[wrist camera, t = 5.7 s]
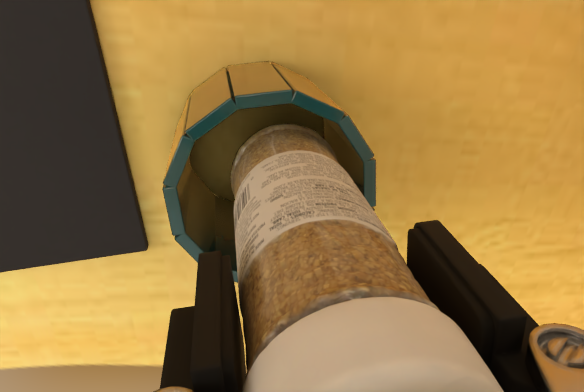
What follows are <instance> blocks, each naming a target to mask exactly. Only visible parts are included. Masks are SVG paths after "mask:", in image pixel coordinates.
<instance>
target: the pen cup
mask: <svg viewBox="0 0 584 392" xmlns="http://www.w3.org/2000/svg"><path fill="white" fill-rule="evenodd" d="M291 103H292V104H294V105H296V106H298V107H301V108H303V109H305V110H307V111H310V112H312V113H314V114H316V115H319V116H321V117H323V125H324V139H325V140H326V141H327V142H328V144H329V145H330V146H331V148H332V150H333V151H334V153H335V155H336V158H337V161H338V163H339V164H340V166H341V167H343V169H344V170H345V171H346V172H347V173H348V174H349V176H350V177H351V179H352V180H353V182H354V183H355V185H356V186H357V188H358V189H359V190H360V192H361V193H362V195H363V196H364V198H365V199H366V200H367V202H368V203H369V205H370V206H371V208H372V209H373V211H374V208H373V207H374V206H376V160H375V159H374V158H373V157H374V154H373V152H372V151H371V149H370V148H369V146H368V145H367V143H366V142H365V140H364V138H363V137H362V135H361V134H360V132H359V131H358V129H357V128H356V126H355V124H354V123H353V121H352V120H351V118H350V117H349V115H348V114H346V113H345V112H344V111H343V110H342V109H341V108H340V107H339V106H338V105H337V104H335V103H334V102H333V101H332V100H331V99H330V98H329V97H328V96H327V95H326V94H325V93H323V92H322V91H321V90H320V89H319V88H318V87H317V86H316V85H315V84H314V83H312V82H311V81H310V80H309V79H308V78H306V77H304V76H302V75H300V74H298V73H295V72H293V71H291V70H289V69H287V68H285V67H283V66H280V65H278V64H276V63H274V62H271V64H270V63H269V61H264V62H255V63H245V64H236V65H228V70H227V69H226V68H225V67H223V68H222V69H221V70H219V71H218V72H217V73H215V74H214V75H213V76H211V77H210V78H209V79H207V80H206V81H205V82H203V83H202V84H201V85H199V86H198V87H197V88H195V89H194V90H193V91H192V94H190V95H189V97H188V99H187V102H186V105H185V107H184V110H183V112H182V115H181V117H180V120H179V123H178V125H177V128H176V131H175V135H174V139H173V143H172V147H171V152H170V156H169V160H168V164H167V168H166V173H165V177H164V181H163V184H164V185H163V193H164V198H165V203H166V207H167V212H168V217H169V221H170V226H171V231H172V235H173V236H175V240H176V241H177V242H178V243H179V244H180V245H181V246H182V247H183V248H184V249H185V250H186V251H187V252H188V253H189V254H190V255H191V256H192V257H193V258H194V259H195V260H196V261H197V262H198V257H199V253H206V252H213V251H221V254H222V256H225V255H230V260H231V266H232V272H233V278H234V282H238V274H237V259H236V244H235V225H234V202H233V201H230V200H227V199H224V198H221V197H219V196H216V195H214V194H213V192H212V191H211V190H210V189H209V188H208V187H207V186H206V185H205V183H204V182H203V181H202V180H201V179H200V178H199V177H198V175H197V174H196V173H195V172H194V171H193V170H192V168H191V162H190V157H189V155H190V153H191V151H192V148H193V146H194V143H195V141H196V140H198V139H199V138H200V137H202V136H203V135H204V134H206V133H207V132H209V131H210V130H211V129H213V128H214V127H215V126H217V125H218V124H219V123H221V122H222V121H223V120H225V119H226V118H227V117H229V116H230V115H231V114H233V113H234V112H236V111H237V110H239V109H248V108H256V107H265V106H274V105H282V104H291Z"/></svg>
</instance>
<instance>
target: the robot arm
mask: <svg viewBox="0 0 584 392" xmlns="http://www.w3.org/2000/svg"><path fill="white" fill-rule="evenodd" d="M407 266H408V268H409V269H410V271H411V272H412V274H413V276H414V279H415V280H416V281H418V283H419V284H420V286H421V287H422V289H423V290H424V292H425V294H426V295H427V296H428V298H429V300H430V301H431V302H432V303H433V304H435V305H436V306H437V307H438V309H439V310H440V312H442V313H443V314H445V315H446V316H448V317H449V318H451V319H452V320H453V321H454V322H455V323H456V324H457V325H458V326H459V327H460V329H461V330H462V331H463V332H464V334H465V335H466V337H467V338H468V339H469V341H470V342H471V343H472V345H473V346H474V348H475V349H476V351H477V352H478V354H479V355H480V356H481V358H482V359H483V361H484V362H485V364H486V365H487V367H488V368H489V370H490V371H491V373H492V374H493V376H494V377H495V379H496V380H497V382H498V383H499V385H500V387H501V388H502V390H503V391H504V392H584V330H582V329H580V328H577V327H573V326H570V325H566V324H557V323H552V324H543V325H541V326H539V325H538V324H537V323H536V322H535V321H534V320H533V319H532V318H531V317H530V315H529V314H528V313H527V312H526V311H525V310H524V309H523V308H522V307H521V306H520V305H519V304H518V303H517V302H516V300H515V299H514V298H513V297H512V296H511V295H510V294H509V293H508V292H507V291H506V290H505V289H504V288H503V287H502V286H501V284H500V283H499V282H498V281H497V280H496V279H495V278H494V277H493V276H492V275H491V274H490V273H489V272H488V271H487V269H486V268H485V267H483V266H482V265H481V264H478V263H477V261H476V260H475V259H474V258H473V257H472V256H471V255H470V254H469V253H468V252H467V251H466V250H465V249H464V247H463V246H462V245H461V244H460V243H459V242H458V241H457V240H456V239H455V238H454V237H453V236H452V234H451V233H450V232H449V231H448V230H447V229H446V228H445V227H444V226H443V225H442V224H441V223H440V222H439V221H438V220H433V221H426V222H419V223H416V224H415V226H414V229H410V230H409V231H408V243H407ZM245 378H246V367H245V353H244V343H243V335H242V329H241V323H240V316H239V310H238V304H237V297H236V291H235V285H234V278H233V272H232V266H231V260H230V255H225V256H222V254H221V251H213V252H206V253H199V257H198V270H197V283H196V296H195V306H191V307H185V308H178V309H173V310H172V312H171V316H170V323H169V330H168V337H167V344H166V350H165V357H164V364H163V371H162V378H161V385H160V389H158V390H157V391H154V392H242V391H243V386H244V383H245Z"/></svg>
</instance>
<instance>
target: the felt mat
mask: <svg viewBox="0 0 584 392" xmlns="http://www.w3.org/2000/svg"><path fill="white" fill-rule="evenodd" d="M147 248H148V241H147V237H146V233H145V229H144V225H143V221H142V217H141V212H140V208H139V204H138V200H137V196H136V192H135V188H134V183H133V179H132V175H131V171H130V167H129V163H128V159H127V154H126V150H125V146H124V142H123V138H122V134H121V130H120V125H119V121H118V117H117V113H116V109H115V105H114V101H113V97H112V92H111V88H110V84H109V80H108V76H107V72H106V68H105V63H104V59H103V55H102V51H101V47H100V43H99V39H98V34H97V30H96V26H95V22H94V18H93V14H92V10H91V5H90V1H89V0H0V272H5V271H12V270H18V269H25V268H32V267H39V266H45V265H52V264H59V263H66V262H72V261H79V260H86V259H92V258H99V257H106V256H113V255H119V254H126V253H133V252H140V251H146V250H147Z"/></svg>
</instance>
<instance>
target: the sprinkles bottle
mask: <svg viewBox="0 0 584 392" xmlns="http://www.w3.org/2000/svg"><path fill="white" fill-rule="evenodd" d="M230 176H231V177H230V180H231V186H232V192H233V195H234V197H235V202H234V225H235V244H236V259H237V274H238V288H239V302H240V309H241V314H242V317H243V330H244V338H245V344H246V365H247V374H246V378H245V383H244V386H243V391H242V392H504V391H503V390H502V388H501V387H500V385H499V383H498V382H497V380H496V379H495V377H494V376H493V374H492V373H491V371H490V370H489V368H488V367H487V365H486V364H485V362H484V361H483V359H482V358H481V356H480V355H479V354H478V352H477V351H476V349H475V348H474V346H473V345H472V343H471V342H470V341H469V339H468V338H467V337H466V335H465V334H464V332H463V331H462V330H461V329H460V327H459V326H458V325H457V324H456V323H455V322H454V321H453V320H452V319H451V318H449V317H448V316H446V315H445V314H443V313H442V312H440V310H439V309H438V307H437V306H436V305H435V304H433V303H432V302H431V301H430V300H429V298H428V296H427V295H426V294H425V292H424V290H423V289H422V287H421V286H420V284H419V283H418V281H416V280H415V279H414V276H413V274H412V272H411V271H410V269H409V268H408V266H407V265H406V263H405V261H404V259H403V257H402V256H401V254H400V253H399V252H398V248H397V245H396V243H395V242H394V240H393V239H392V237H391V236H390V234H389V233H388V231H387V230H386V228H385V227H384V225H383V224H382V223H381V221H380V220H379V218H378V217H377V215H376V213H375V212H374V211H373V209H372V208H371V206H370V205H369V203H368V202H367V200H366V199H365V198H364V196H363V195H362V193H361V192H360V190H359V189H358V188H357V186H356V185H355V183H354V182H353V180H352V179H351V177H350V176H349V174H348V173H347V172H346V171H345V170H344V169H343V167H341V166H340V164H339V163H338V161H337V158H336V155H335V153H334V151H333V150H332V148H331V146H330V145H329V144H328V142H327V141H326V140H325V139H324V138H323V137H321V136H320V135H319V134H318V133H317V132H316V131H314V130H312V129H309V128H306V127H303V126H301V125H294V124H288V123H287V124H278V125H271V126H269V127H266V128H264V129H261V130H260V131H258V132H256V133H255V134H254V135H252V136H251V137H249V138H248V139H247V141H246V142H245V143H243V144H242V146H241V147H240V149H239V150H238V151H237V154H236V157H235V159H234V161H233V164H232V170H231V174H230Z"/></svg>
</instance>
